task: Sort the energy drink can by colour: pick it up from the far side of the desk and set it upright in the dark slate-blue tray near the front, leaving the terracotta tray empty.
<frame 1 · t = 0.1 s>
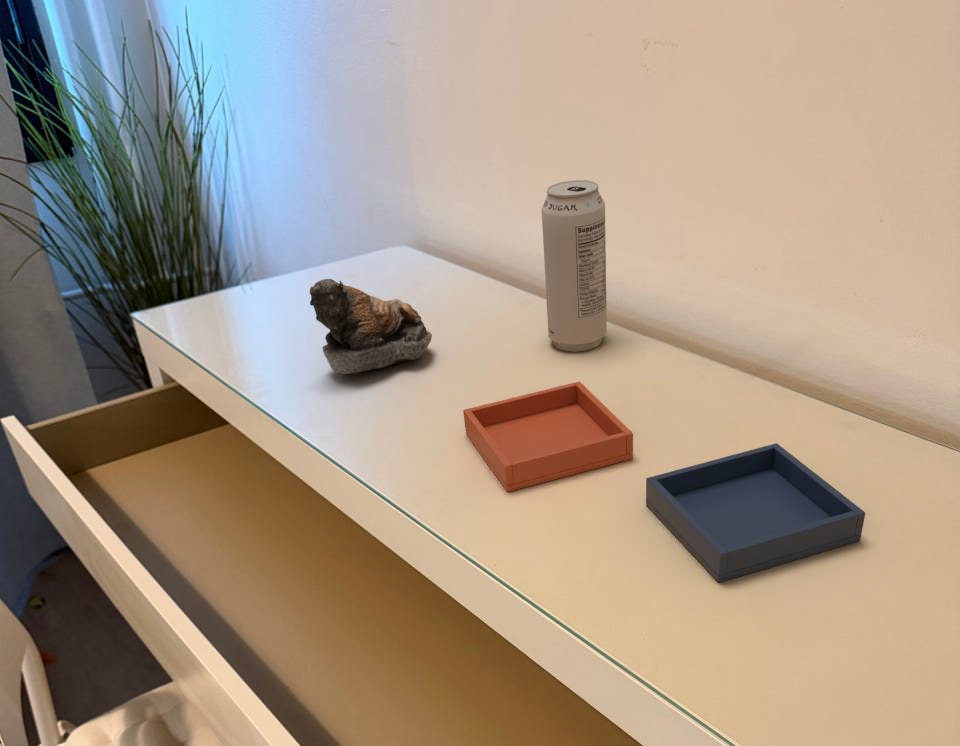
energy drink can: (577, 343, 97), on the table
terracotta tray: (546, 446, 81), on the table
bison figurine: (382, 369, 97), on the table
slate tray: (748, 522, 69), on the table
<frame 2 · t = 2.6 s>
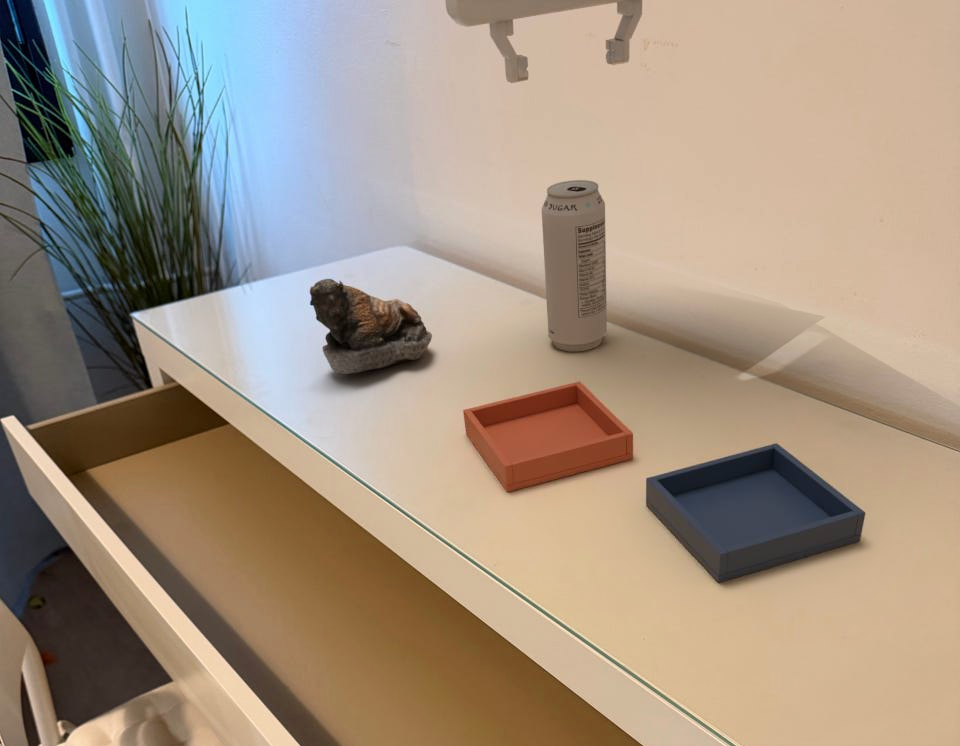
hand: (568, 72, 81), 24 cm above the table, tool pointing down, fingers open, 8 cm apart
nothing on the table moved.
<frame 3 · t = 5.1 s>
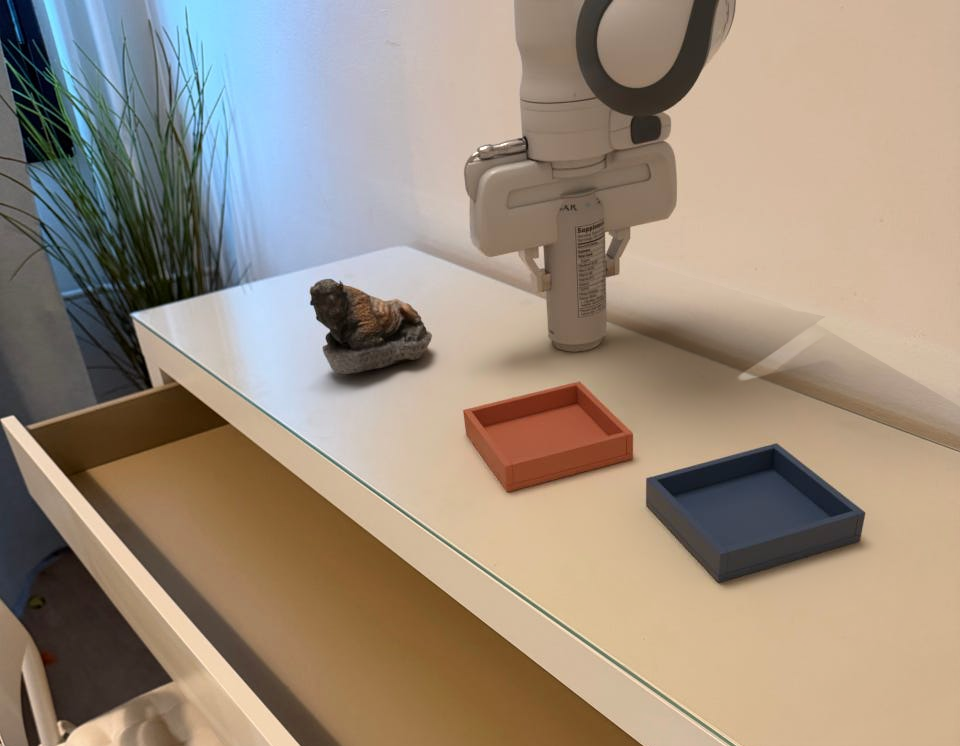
hand: (576, 282, 93), 6 cm above the table, tool pointing down, fingers closed on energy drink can, 6 cm apart
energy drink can: (577, 343, 97), on the table, touching gripper
everything else where it was.
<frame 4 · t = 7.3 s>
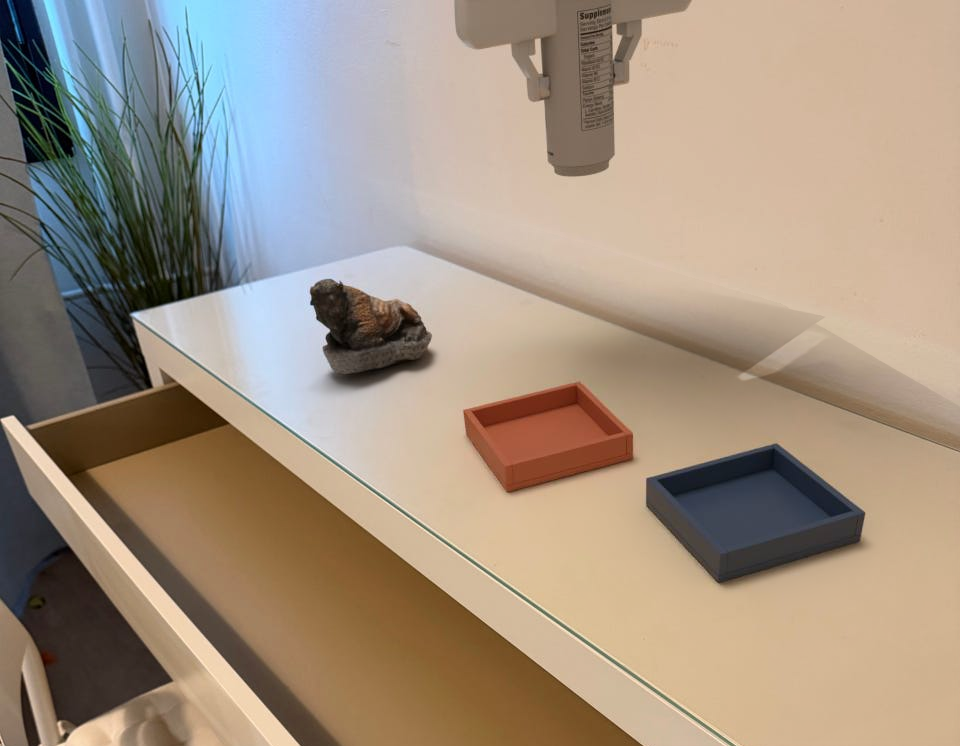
hand: (579, 92, 81), 23 cm above the table, tool pointing down, fingers closed on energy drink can, 6 cm apart
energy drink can: (581, 171, 85), point 17 cm above the table, touching gripper
everything else where it was.
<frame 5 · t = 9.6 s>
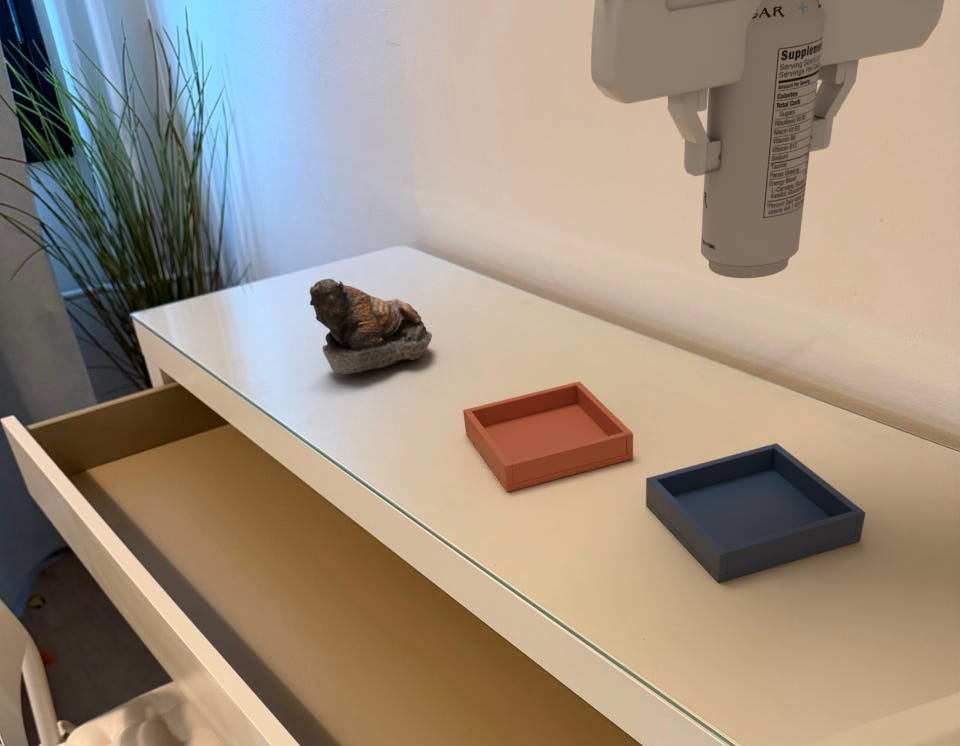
hand: (757, 160, 56), 24 cm above the table, tool pointing down, fingers closed on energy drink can, 6 cm apart
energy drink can: (747, 267, 60), point 18 cm above the table, touching gripper
everything else where it was.
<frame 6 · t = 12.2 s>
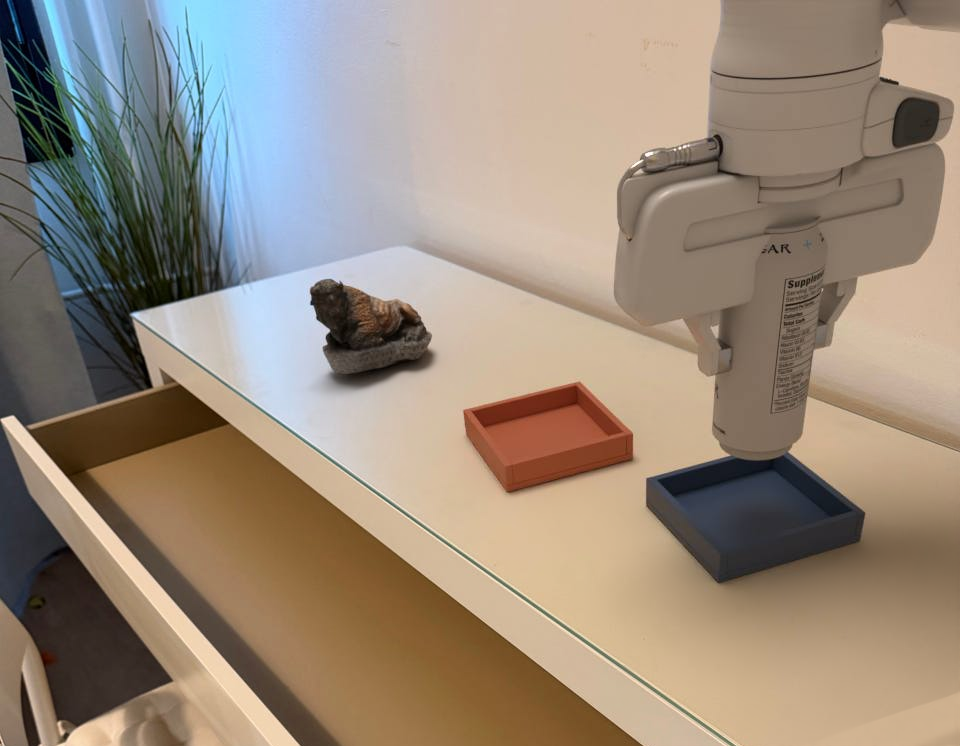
hand: (764, 358, 61), 13 cm above the table, tool pointing down, fingers closed on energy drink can, 6 cm apart
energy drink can: (755, 445, 65), point 6 cm above the table, touching gripper
everything else where it was.
when the fingers open (7 cm above the table, at t = 14.3 s): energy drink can stays where it is, resting on slate tray.
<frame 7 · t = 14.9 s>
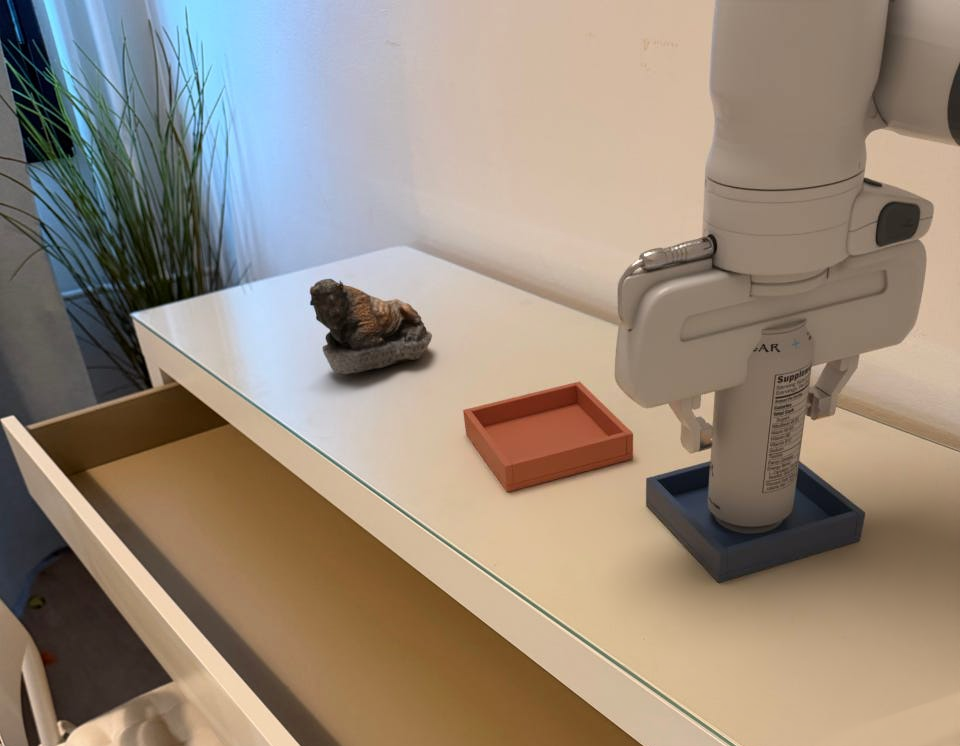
hand: (757, 431, 64), 7 cm above the table, tool pointing down, fingers open, 8 cm apart
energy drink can: (748, 517, 69), resting on slate tray
everything else where it was.
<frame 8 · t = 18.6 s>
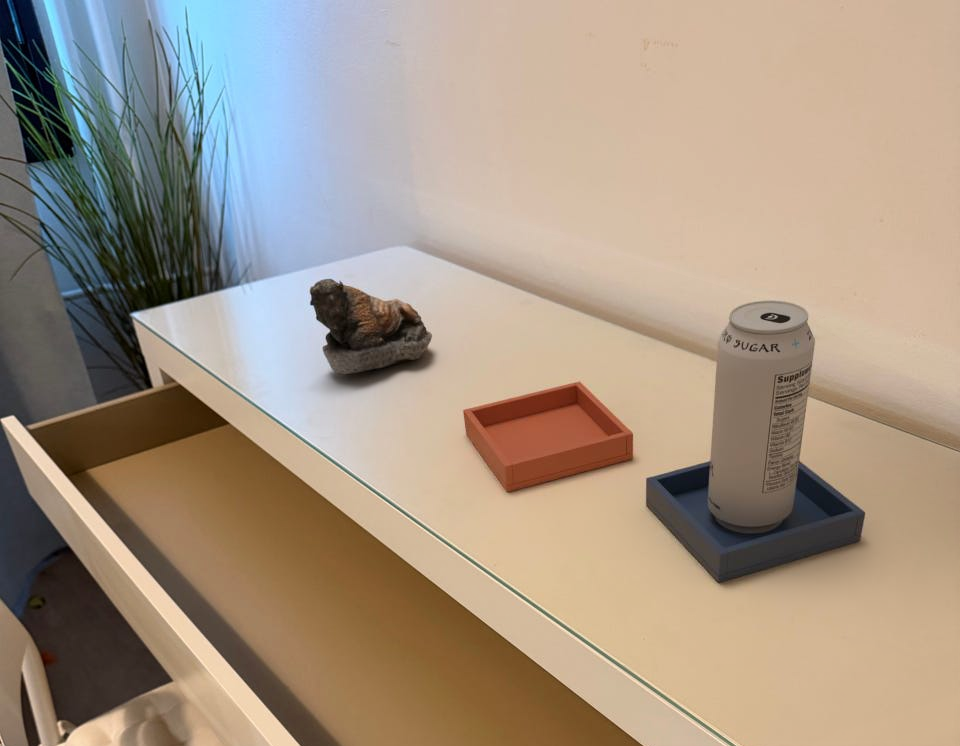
nothing on the table moved.
at the end: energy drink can inside the target area in the slate tray (0.0 cm from its centre), point 0.4 cm above the slate tray's base; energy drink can tilted 0°; the gripper is holding nothing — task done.
